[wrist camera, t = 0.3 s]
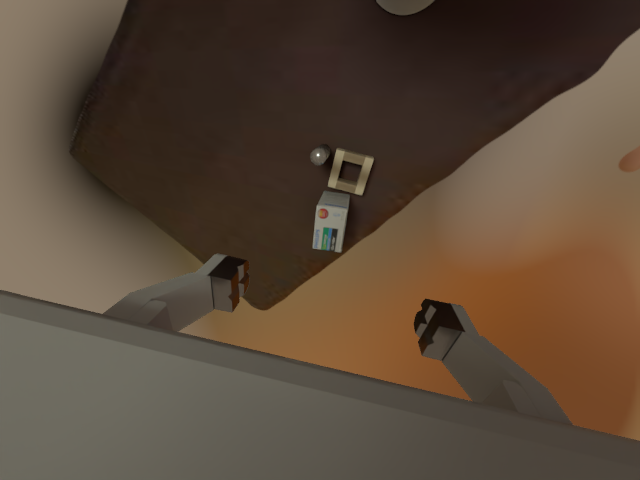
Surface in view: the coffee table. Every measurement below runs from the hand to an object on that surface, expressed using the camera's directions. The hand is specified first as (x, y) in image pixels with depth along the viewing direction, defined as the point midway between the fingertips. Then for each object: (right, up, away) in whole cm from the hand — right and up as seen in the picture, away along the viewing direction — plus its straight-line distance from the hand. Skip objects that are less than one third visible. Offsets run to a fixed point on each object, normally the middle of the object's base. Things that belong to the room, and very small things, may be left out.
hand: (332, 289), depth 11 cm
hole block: (+6, +18, +42) cm, 46 cm away
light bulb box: (+3, +9, +47) cm, 48 cm away
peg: (0, +22, +40) cm, 46 cm away
